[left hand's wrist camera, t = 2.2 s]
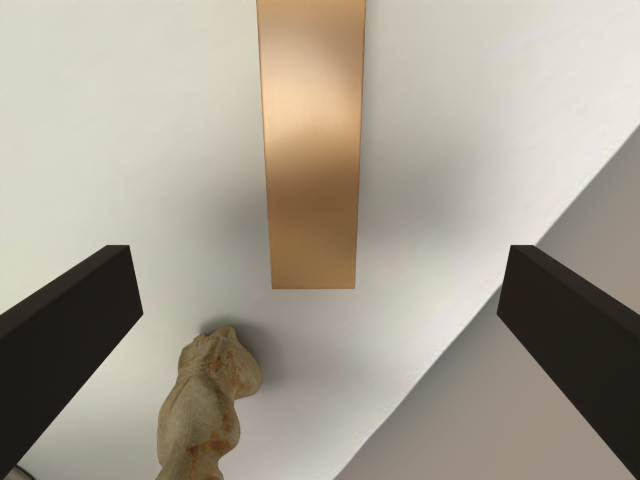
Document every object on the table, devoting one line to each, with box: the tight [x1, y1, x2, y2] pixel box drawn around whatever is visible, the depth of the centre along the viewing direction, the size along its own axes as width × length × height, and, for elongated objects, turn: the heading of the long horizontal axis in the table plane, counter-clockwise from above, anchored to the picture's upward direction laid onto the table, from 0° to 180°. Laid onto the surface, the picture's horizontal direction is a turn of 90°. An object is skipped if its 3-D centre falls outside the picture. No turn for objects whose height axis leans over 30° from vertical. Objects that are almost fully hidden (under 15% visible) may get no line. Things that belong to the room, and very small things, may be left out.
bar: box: [256, 0, 366, 289], centre depth 20 cm, size 21×5×9 cm, turn 0°
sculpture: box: [156, 326, 262, 480], centre depth 25 cm, size 6×7×15 cm
